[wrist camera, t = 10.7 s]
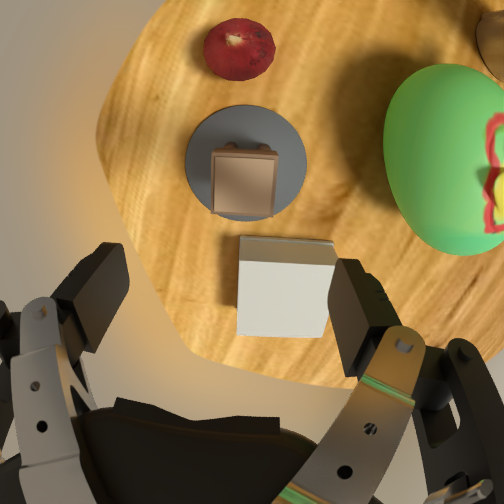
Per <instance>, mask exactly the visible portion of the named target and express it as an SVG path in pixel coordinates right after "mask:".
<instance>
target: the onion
mask: <svg viewBox="0 0 504 504" xmlns="http://www.w3.org/2000/svg"><path fill="white" fill-rule="evenodd" d="M275 50H276V47H275V44H274V41H273V38H272V35H271V33H270V32H269V31H268V30H267V29H266V28H265V27H264V26H263V25H262V24H260V23H257V22H254V21H252V20H249V19H244V18H233V19H230V20H227V21H224V22H221V23H220V24H218V25H217V26H215V27H214V28H213V29H211V30H210V32H209V33H208V35H207V37H206V38H205V40H204V49H203V54H204V57H205V60H206V63H207V65H208V66H209V68H210V69H211V70H212V71H213V72H214V73H215V74H216V75H218V76H220V77H222V78H224V79H226V80H230V81H245V80H249V79H252V78H255V77H257V76H258V75H260V74H262V73H263V72H265V71H266V70H267V68H268V67H269V66H270V64H271V63H272V62H273V59H274V54H275Z"/></svg>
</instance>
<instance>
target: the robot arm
mask: <svg viewBox="0 0 504 504" xmlns="http://www.w3.org/2000/svg"><path fill="white" fill-rule="evenodd" d="M476 39H477V44H478V47H479V51H480V53H481V56H482V58H483V60H484V62H485V64H486V66H487V67H488V69H489V70H490V72H491V73H492V74H493V75H494V76H495V77H496V78H497V79H499V80H500V81H502V82H504V10H500V11H494V12H488V13H482V20H481V21H480V22H479V23H478V25H477V29H476ZM128 290H129V274H128V269H127V264H126V258H125V253H124V248H123V245H122V244H120V243H109V242H103V243H101V244H100V245H99V247H98V248H97V249H96V250H95V251H94V252H93V253H92V254H90V255H88V256H87V257H85V258H84V259H82V260H81V261H80V262H79V263H78V264H77V265H76V266H75V268H74V270H72V271H71V272H70V273H69V274H68V276H67V277H66V278H65V279H64V280H63V281H62V283H61V284H60V285H59V286H58V287H57V289H56V290H55V291H54V292H53V294H52V295H51V296H50V297H40V298H36V299H34V300H32V301H30V302H29V303H28V304H27V305H26V306H25V307H24V308H23V310H22V312H12V313H10V312H9V311H8V308H7V307H6V304H5V303H4V302H3V301H1V300H0V358H1V360H2V363H1V365H0V504H383V503H382V502H381V501H380V500H378V499H377V498H376V497H375V496H374V495H373V494H374V493H375V491H376V489H377V487H378V486H379V484H380V482H381V480H382V478H383V476H384V474H385V472H386V471H387V469H388V467H389V465H390V463H391V461H392V458H393V456H394V454H395V452H396V449H397V448H398V445H399V443H400V441H401V439H402V436H403V434H404V431H405V429H406V426H407V424H408V422H409V419H410V417H411V414H412V417H413V421H414V425H415V429H416V434H417V438H418V442H419V447H420V452H421V456H422V461H423V467H424V473H425V478H426V484H427V491H428V497H427V498H426V500H425V501H424V503H423V504H504V404H503V402H502V400H501V397H500V395H499V393H498V390H497V388H496V386H495V384H494V382H493V379H492V377H491V375H490V373H489V371H488V369H487V367H486V365H485V363H484V361H483V359H482V357H481V355H480V353H479V351H478V350H477V348H476V347H475V346H474V345H473V344H472V343H470V342H469V341H467V340H465V339H462V338H454V339H452V340H451V341H450V342H449V343H448V345H447V346H446V348H445V349H441V348H436V347H431V346H426V345H425V342H424V340H423V338H422V337H421V336H420V334H418V333H417V332H416V331H415V330H413V329H411V328H409V327H406V326H403V325H402V323H401V321H400V319H399V317H398V315H397V313H396V311H395V310H394V308H393V306H392V304H391V302H390V301H389V298H388V296H387V294H386V293H385V291H384V289H383V287H382V285H381V283H380V282H379V281H378V280H377V279H376V278H375V277H374V276H373V275H372V274H370V273H366V272H365V271H364V269H363V267H362V265H361V263H360V261H359V260H358V259H345V258H338V259H337V261H336V264H335V268H334V272H333V276H332V280H331V284H330V288H329V291H328V297H327V306H328V311H329V314H330V318H331V322H332V326H333V329H334V333H335V337H336V341H337V345H338V349H339V353H340V357H341V361H342V365H343V369H344V373H345V377H356V376H357V379H358V384H357V385H356V387H355V389H354V390H353V392H352V394H351V395H350V397H349V399H348V400H347V402H346V404H345V405H344V407H343V409H342V410H341V412H340V413H339V415H338V416H337V418H336V419H335V421H334V422H333V424H332V425H331V427H330V428H329V430H328V431H327V433H326V434H325V435H324V437H323V438H322V439H321V441H320V442H319V444H318V445H317V444H316V443H314V442H313V441H312V440H310V439H308V438H306V437H305V436H303V435H301V434H298V433H296V432H293V431H290V430H287V429H283V428H280V418H279V417H252V416H232V417H225V418H217V419H209V420H199V421H193V420H188V419H186V418H183V417H181V416H178V415H176V414H173V413H171V412H168V411H166V410H163V409H161V408H159V407H157V406H154V405H150V404H146V403H141V402H137V401H132V400H127V399H123V398H119V397H117V398H116V401H115V404H114V407H108V408H100V409H98V407H97V405H96V403H95V401H94V398H93V395H92V392H91V389H90V385H89V382H88V378H87V375H86V372H85V368H84V364H83V361H82V358H81V356H80V355H81V353H82V352H83V351H86V352H90V353H95V352H96V350H97V348H98V346H99V344H100V342H101V340H102V338H103V336H104V334H105V333H106V331H107V328H108V327H109V325H110V323H111V321H112V319H113V318H114V316H115V314H116V312H117V310H118V309H119V306H120V305H121V303H122V301H123V300H124V298H125V296H126V294H127V292H128ZM452 398H453V399H454V401H455V404H456V407H457V410H458V413H459V416H460V426H459V428H458V430H457V426H456V423H455V420H454V417H453V414H452V411H451V408H450V405H449V402H450V401H451V399H452ZM13 418H14V419H15V426H16V433H17V438H18V444H19V448H20V453H18V454H16V455H15V456H13V457H12V458H10V459H8V460H5V459H4V458H3V457H1V451H2V448H3V445H4V442H5V439H6V437H7V434H8V431H9V428H10V426H11V423H12V421H13Z"/></svg>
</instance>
